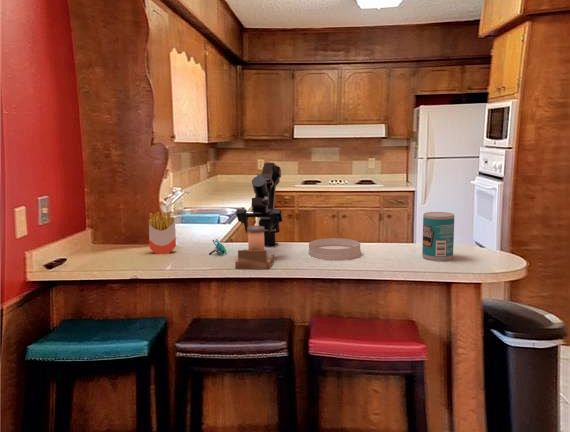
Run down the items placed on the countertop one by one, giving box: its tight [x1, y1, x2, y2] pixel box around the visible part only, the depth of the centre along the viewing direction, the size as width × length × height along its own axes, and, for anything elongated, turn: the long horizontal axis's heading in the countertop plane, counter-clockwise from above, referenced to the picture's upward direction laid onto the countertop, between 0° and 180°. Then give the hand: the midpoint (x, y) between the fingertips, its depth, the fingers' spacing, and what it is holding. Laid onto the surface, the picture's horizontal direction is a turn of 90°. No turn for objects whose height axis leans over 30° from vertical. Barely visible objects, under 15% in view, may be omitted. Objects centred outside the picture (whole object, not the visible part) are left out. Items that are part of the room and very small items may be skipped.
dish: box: [308, 237, 362, 261], centre depth 221 cm, size 22×22×5 cm
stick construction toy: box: [208, 238, 228, 256], centre depth 226 cm, size 12×7×8 cm
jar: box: [247, 225, 266, 250], centre depth 209 cm, size 7×7×14 cm
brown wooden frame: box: [234, 249, 275, 270], centre depth 206 cm, size 13×13×7 cm
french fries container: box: [148, 211, 177, 255], centre depth 229 cm, size 5×11×18 cm, turn 94°
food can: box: [421, 211, 455, 262], centre depth 210 cm, size 12×12×18 cm
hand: (257, 232), depth 211 cm, fingers open, 9 cm apart
